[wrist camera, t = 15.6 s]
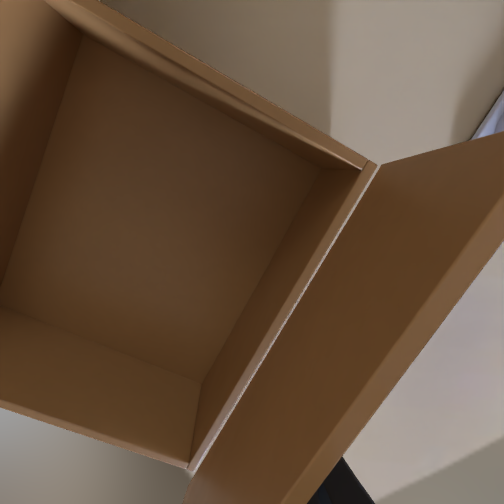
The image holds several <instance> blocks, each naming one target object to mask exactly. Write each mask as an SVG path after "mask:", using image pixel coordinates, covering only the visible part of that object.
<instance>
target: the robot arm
mask: <svg viewBox="0 0 504 504" xmlns="http://www.w3.org/2000/svg"><path fill="white" fill-rule="evenodd" d="M502 131H504V91H503V92H502V94H501V95H500V97H499V98H498V100H497V101H496V103H495V104H494V106H493V107H492V109H491V110H490V112H489V113H488V115H487V116H486V118H485V119H484V121H483V122H482V124H481V125H480V127H479V128H478V130H477V131H476V133H475V134H474V136H473V137H472V139H471V140H473V139H477V138H480V137H484V136H487V135H491V134H495V133H498V132H502ZM307 504H375V503H374V501H373V500H372V499H371V497H370V496H369V494H368V493H367V492H366V490H365V489H364V487H363V486H362V485H361V483H360V482H359V480H358V479H357V478H356V476H355V475H354V473H353V472H352V470H351V469H350V467H349V466H348V464H347V463H346V461H345V460H344V458H343V457H341V459H340V460H339V461H338V463H337V464H336V465H335V467H334V468H333V469H332V471H331V472H330V473H329V475H328V476H327V477H326V479H325V480H324V481H323V483H322V484H321V485H320V487H319V488H318V489H317V491H316V492H315V493H314V495H313V496H312V497H311V499H310V500H309V501H308V503H307Z"/></svg>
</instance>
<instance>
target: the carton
mask: <svg viewBox="0 0 504 504" xmlns="http://www.w3.org/2000/svg"><path fill="white" fill-rule="evenodd" d="M376 168H377V164H375V163H373V162H372V161H370V160H368V159H367V158H365V157H363V156H361V155H360V154H358V153H356V152H355V151H353V150H351V149H350V148H348V147H346V146H344V145H343V144H341V143H339V142H338V141H336V140H334V139H333V138H331V137H329V136H327V135H326V134H324V133H322V132H321V131H319V130H317V129H316V128H314V127H312V126H310V125H309V124H307V123H305V122H304V121H302V120H300V119H299V118H297V117H295V116H293V115H292V114H290V113H288V112H287V111H285V110H283V109H282V108H280V107H278V106H277V105H275V104H273V103H271V102H270V101H268V100H266V99H265V98H263V97H261V96H260V95H258V94H256V93H254V92H253V91H251V90H249V89H248V88H246V87H244V86H243V85H241V84H239V83H237V82H236V81H234V80H232V79H231V78H229V77H227V76H226V75H224V74H222V73H220V72H219V71H217V70H215V69H214V68H212V67H210V66H209V65H207V64H205V63H203V62H202V61H200V60H198V59H197V58H195V57H193V56H192V55H190V54H188V53H186V52H185V51H183V50H181V49H180V48H178V47H176V46H175V45H173V44H171V43H169V42H168V41H166V40H164V39H163V38H161V37H159V36H158V35H156V34H154V33H152V32H151V31H149V30H147V29H146V28H144V27H142V26H141V25H139V24H137V23H135V22H134V21H132V20H130V19H129V18H127V17H125V16H124V15H122V14H120V13H119V12H117V11H115V10H113V9H112V8H110V7H108V6H107V5H105V4H103V3H102V2H100V1H98V0H0V408H3V409H6V410H10V411H12V412H15V413H18V414H21V415H25V416H27V417H31V418H33V419H37V420H40V421H43V422H46V423H48V424H52V425H55V426H57V427H61V428H64V429H66V430H70V431H72V432H75V433H79V434H82V435H85V436H88V437H91V438H94V439H97V440H100V441H103V442H106V443H109V444H112V445H115V446H118V447H121V448H124V449H127V450H130V451H133V452H136V453H139V454H142V455H145V456H148V457H151V458H154V459H157V460H160V461H163V462H166V463H169V464H172V465H175V466H178V467H181V468H184V469H187V470H190V471H193V472H194V471H195V469H196V467H197V466H198V464H199V462H200V461H201V459H202V457H203V456H204V454H205V452H206V451H207V449H208V447H209V446H210V444H211V442H212V441H213V439H214V437H215V436H216V434H217V432H218V431H219V429H220V427H221V426H222V424H223V422H224V421H225V419H226V417H227V416H228V414H229V412H230V411H231V409H232V407H233V406H234V404H235V402H236V401H237V399H238V397H239V396H240V394H241V392H242V391H243V389H244V387H245V386H246V384H247V382H248V381H249V379H250V377H251V376H252V374H253V372H254V371H255V369H256V367H257V366H258V364H259V363H260V361H261V359H262V358H263V356H264V354H265V353H266V351H267V349H268V348H269V346H270V344H271V343H272V341H273V339H274V338H275V336H276V334H277V333H278V331H279V329H280V328H281V326H282V324H283V323H284V321H285V319H286V318H287V316H288V314H289V313H290V311H291V309H292V308H293V306H294V304H295V303H296V301H297V299H298V298H299V296H300V294H301V293H302V291H303V289H304V288H305V286H306V284H307V283H308V281H309V279H310V278H311V276H312V274H313V273H314V271H315V269H316V268H317V266H318V264H319V263H320V261H321V259H322V258H323V256H324V254H325V253H326V251H327V249H328V248H329V246H330V244H331V243H332V241H333V239H334V238H335V236H336V234H337V233H338V231H339V229H340V228H341V226H342V224H343V223H344V221H345V219H346V218H347V216H348V214H349V213H350V211H351V209H352V208H353V206H354V204H355V203H356V201H357V199H358V198H359V196H360V194H361V193H362V191H363V189H364V188H365V186H366V184H367V183H368V181H369V179H370V178H371V176H372V174H373V173H374V171H375V169H376Z"/></svg>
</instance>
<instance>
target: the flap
mask: <svg viewBox="0 0 504 504" xmlns="http://www.w3.org/2000/svg"><path fill="white" fill-rule="evenodd" d="M503 241H504V131H502V132H498V133H495V134H491V135H487V136H484V137H480V138H477V139H473V140H469V141H466V142H462V143H458V144H455V145H451V146H447V147H444V148H440V149H436V150H433V151H429V152H425V153H422V154H418V155H414V156H411V157H407V158H404V159H400V160H396V161H393V162H389V163H385V164H382V165H381V167H380V168H379V170H378V172H377V173H376V175H375V177H374V178H373V180H372V182H371V183H370V185H369V187H368V188H367V190H366V192H365V193H364V195H363V197H362V198H361V200H360V202H359V203H358V205H357V207H356V208H355V210H354V212H353V213H352V215H351V216H350V218H349V220H348V221H347V223H346V225H345V226H344V228H343V230H342V231H341V233H340V235H339V236H338V238H337V240H336V241H335V243H334V245H333V246H332V248H331V250H330V251H329V253H328V255H327V256H326V258H325V260H324V261H323V263H322V265H321V266H320V268H319V270H318V271H317V273H316V275H315V276H314V278H313V279H312V281H311V283H310V284H309V286H308V288H307V289H306V291H305V293H304V294H303V296H302V298H301V299H300V301H299V303H298V304H297V306H296V308H295V309H294V311H293V313H292V314H291V316H290V318H289V319H288V321H287V323H286V324H285V326H284V328H283V329H282V331H281V333H280V334H279V336H278V338H277V339H276V341H275V342H274V344H273V346H272V347H271V349H270V351H269V352H268V354H267V356H266V357H265V359H264V361H263V362H262V364H261V366H260V367H259V369H258V371H257V372H256V374H255V376H254V377H253V379H252V381H251V382H250V384H249V386H248V387H247V389H246V391H245V392H244V394H243V396H242V397H241V399H240V401H239V402H238V404H237V405H236V407H235V409H234V410H233V412H232V414H231V415H230V417H229V419H228V420H227V422H226V424H225V425H224V427H223V429H222V430H221V432H220V434H219V435H218V437H217V439H216V440H215V442H214V444H213V445H212V447H211V449H210V450H209V452H208V454H207V455H206V457H205V459H204V460H203V462H202V463H201V465H200V467H199V468H198V470H197V472H196V473H195V475H194V477H193V478H192V480H191V482H190V484H189V485H188V488H187V491H186V494H185V497H184V500H183V503H182V504H307V503H308V501H309V500H310V499H311V497H312V496H313V495H314V493H315V492H316V491H317V489H318V488H319V487H320V485H321V484H322V483H323V481H324V480H325V479H326V477H327V476H328V475H329V473H330V472H331V471H332V469H333V468H334V467H335V465H336V464H337V463H338V461H339V460H340V459H341V457H342V456H343V454H344V453H345V452H346V450H347V449H348V448H349V446H350V445H351V444H352V442H353V441H354V440H355V438H356V437H357V436H358V434H359V433H360V432H361V430H362V429H363V428H364V426H365V425H366V424H367V422H368V421H369V420H370V418H371V417H372V416H373V414H374V413H375V412H376V410H377V409H378V408H379V406H380V405H381V404H382V402H383V401H384V400H385V398H386V397H387V396H388V394H389V393H390V392H391V390H392V389H393V388H394V386H395V385H396V384H397V382H398V381H399V380H400V378H401V377H402V376H403V374H404V373H405V372H406V370H407V369H408V368H409V366H410V365H411V364H412V362H413V361H414V360H415V358H416V357H417V356H418V354H419V353H420V352H421V350H422V349H423V348H424V346H425V345H426V344H427V342H428V341H429V340H430V338H431V337H432V336H433V334H434V333H435V332H436V330H437V329H438V328H439V326H440V325H441V324H442V322H443V321H444V320H445V318H446V317H447V315H448V314H449V313H450V311H451V310H452V309H453V307H454V306H455V305H456V303H457V302H458V301H459V299H460V298H461V297H462V295H463V294H464V293H465V291H466V290H467V289H468V287H469V286H470V285H471V283H472V282H473V281H474V279H475V278H476V277H477V275H478V274H479V273H480V271H481V270H482V269H483V267H484V266H485V265H486V263H487V262H488V261H489V259H490V258H491V257H492V255H493V254H494V253H495V251H496V250H497V249H498V247H499V246H500V245H501V243H502V242H503Z"/></svg>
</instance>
